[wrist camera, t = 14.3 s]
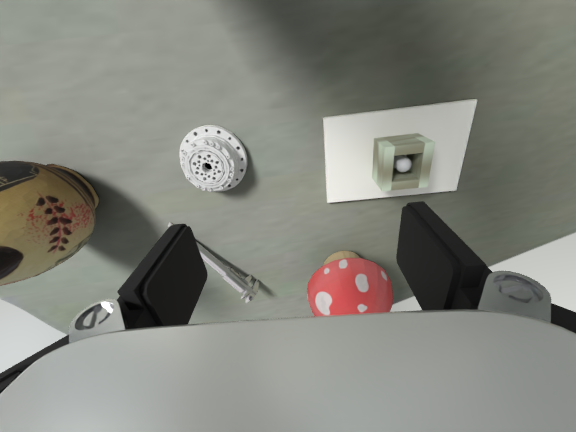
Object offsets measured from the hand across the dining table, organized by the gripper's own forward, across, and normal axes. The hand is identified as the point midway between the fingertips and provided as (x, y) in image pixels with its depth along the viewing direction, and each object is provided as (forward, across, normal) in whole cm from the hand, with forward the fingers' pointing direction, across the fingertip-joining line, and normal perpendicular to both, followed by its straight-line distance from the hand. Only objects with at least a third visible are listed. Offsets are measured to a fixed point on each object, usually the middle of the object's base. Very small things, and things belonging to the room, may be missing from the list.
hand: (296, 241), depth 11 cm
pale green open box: (+27, -14, +6) cm, 31 cm away
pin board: (+28, -14, +6) cm, 32 cm away
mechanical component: (+29, +13, +4) cm, 32 cm away
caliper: (+29, +17, +22) cm, 40 cm away
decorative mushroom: (+28, -6, +25) cm, 38 cm away
